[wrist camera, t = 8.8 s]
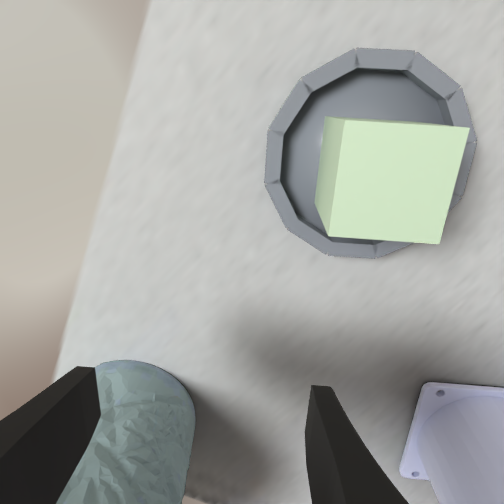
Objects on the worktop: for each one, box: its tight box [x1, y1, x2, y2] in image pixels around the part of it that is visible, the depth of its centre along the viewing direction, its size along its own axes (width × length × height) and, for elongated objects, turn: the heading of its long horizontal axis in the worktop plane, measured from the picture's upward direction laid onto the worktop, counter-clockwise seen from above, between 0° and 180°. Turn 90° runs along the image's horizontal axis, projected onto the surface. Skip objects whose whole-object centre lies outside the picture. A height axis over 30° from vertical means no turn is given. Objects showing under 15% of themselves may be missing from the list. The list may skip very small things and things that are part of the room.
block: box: [314, 116, 470, 244], centre depth 15 cm, size 4×4×5 cm
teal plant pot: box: [56, 360, 196, 504], centre depth 19 cm, size 10×10×12 cm
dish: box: [264, 48, 477, 259], centre depth 17 cm, size 9×9×2 cm
